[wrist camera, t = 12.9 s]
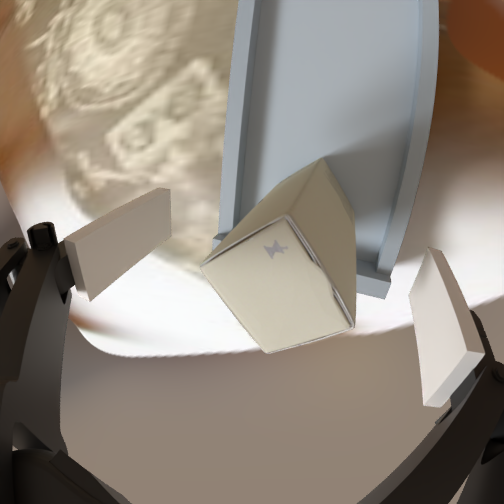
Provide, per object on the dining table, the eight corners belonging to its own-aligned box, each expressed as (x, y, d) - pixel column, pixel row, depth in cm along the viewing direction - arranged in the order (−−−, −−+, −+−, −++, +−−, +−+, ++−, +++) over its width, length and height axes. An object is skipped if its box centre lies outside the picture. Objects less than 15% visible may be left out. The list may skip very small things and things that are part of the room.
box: (275, 184, 22) (187, 260, 11) (324, 155, 19) (283, 204, 9) (310, 240, 23) (263, 360, 12) (359, 216, 20) (359, 331, 10)
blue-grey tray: (260, -17, 16) (239, -41, 12) (426, 6, 13) (440, -16, 8) (235, 232, 28) (212, 255, 23) (381, 267, 24) (384, 299, 20)
